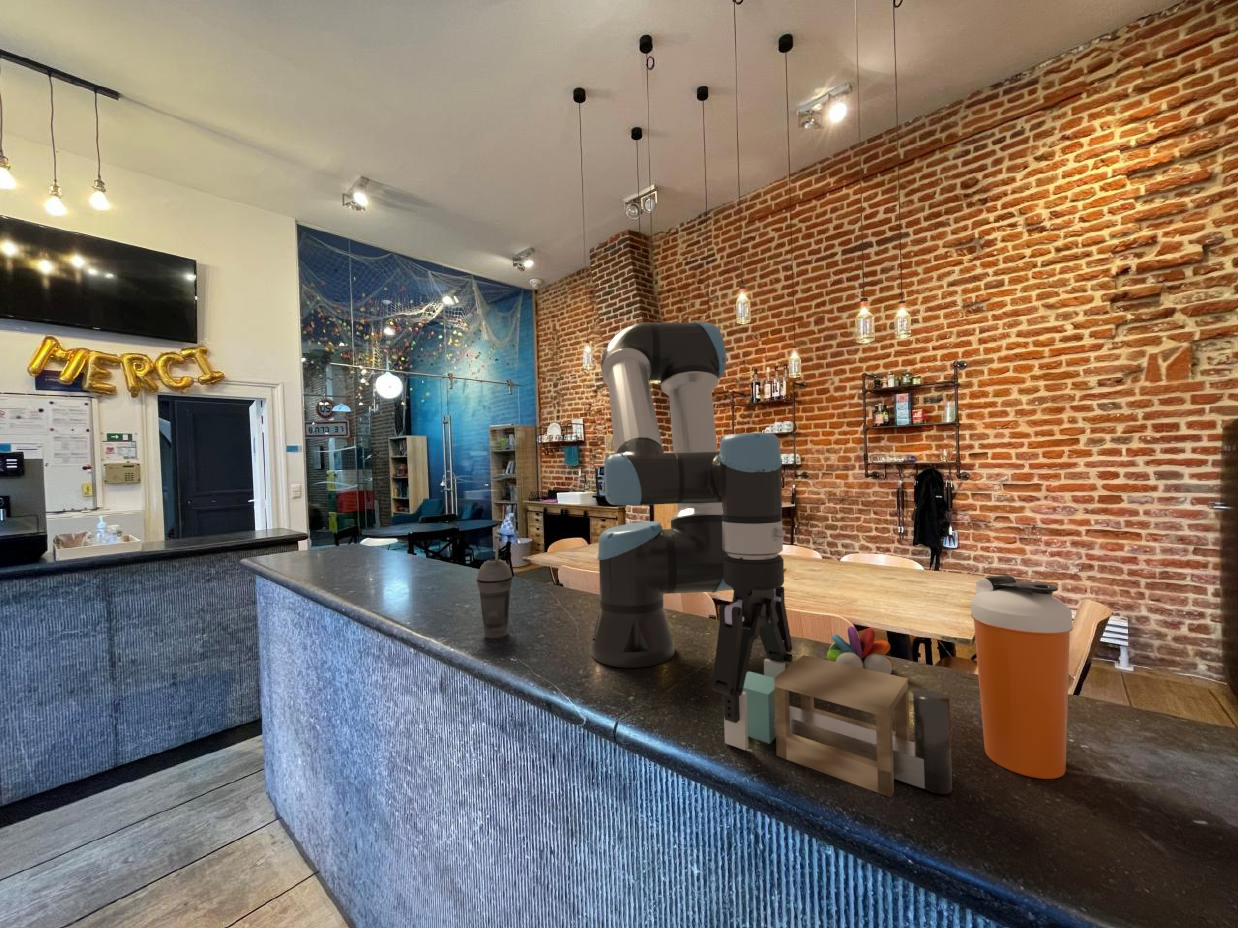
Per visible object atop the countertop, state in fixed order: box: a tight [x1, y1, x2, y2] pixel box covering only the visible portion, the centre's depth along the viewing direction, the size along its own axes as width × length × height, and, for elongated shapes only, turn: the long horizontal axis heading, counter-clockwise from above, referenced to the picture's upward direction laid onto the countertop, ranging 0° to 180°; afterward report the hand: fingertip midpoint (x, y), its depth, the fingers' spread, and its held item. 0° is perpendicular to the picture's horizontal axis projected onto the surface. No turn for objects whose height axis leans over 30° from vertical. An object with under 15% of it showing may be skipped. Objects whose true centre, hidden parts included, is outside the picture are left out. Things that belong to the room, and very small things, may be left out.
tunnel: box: [774, 654, 911, 798], centre depth 58 cm, size 12×9×9 cm
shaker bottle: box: [970, 575, 1073, 780], centre depth 57 cm, size 9×9×20 cm
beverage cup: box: [476, 537, 514, 639], centre depth 105 cm, size 7×7×20 cm
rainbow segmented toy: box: [826, 626, 894, 675], centre depth 82 cm, size 8×10×7 cm
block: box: [743, 670, 776, 745], centre depth 65 cm, size 5×5×6 cm
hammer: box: [772, 689, 953, 795], centre depth 57 cm, size 18×3×9 cm, turn 49°
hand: (757, 726), depth 65 cm, fingers open, 10 cm apart
